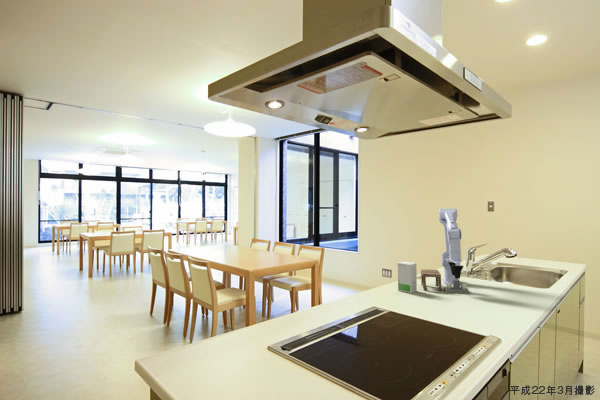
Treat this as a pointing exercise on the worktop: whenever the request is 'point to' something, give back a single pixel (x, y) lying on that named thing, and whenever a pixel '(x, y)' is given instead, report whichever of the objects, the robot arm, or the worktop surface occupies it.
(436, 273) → the walnut shelf
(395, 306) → the worktop surface
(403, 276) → the skincare box
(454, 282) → the grey plastic caddy
